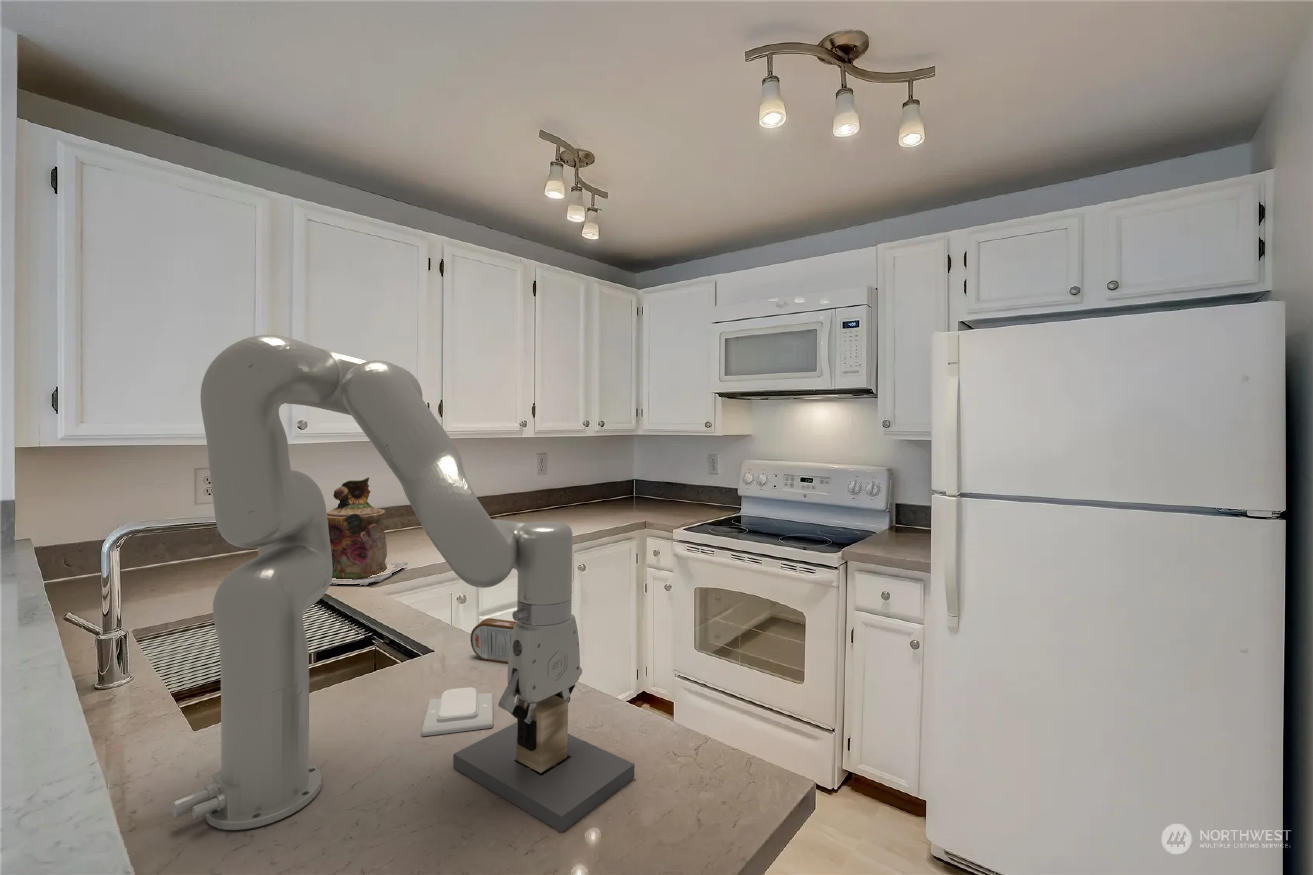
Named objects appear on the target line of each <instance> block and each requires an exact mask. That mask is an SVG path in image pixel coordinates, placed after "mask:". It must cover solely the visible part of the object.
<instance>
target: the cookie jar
mask: <svg viewBox="0 0 1313 875" xmlns="http://www.w3.org/2000/svg"><path fill="white" fill-rule="evenodd" d="M369 480H370V477H369V476H368V477H365V478H363V479H361V480H358V479H357V480H356V479H355V480H353V479H351V480H347V481H345V482H343V483H342V484H341V486H340V487H337V488H336V489H334V491H333V495H332V496H333V497H334V500H337V501H339V502H338V504H337V507H334V508H332V509H330V510H329V511H328V512H327V520H328V529H329V537H330V546H331V554H332V565H333V572H332V578H336V579H352V580H331V583H357V584H360V585H359V586H361V585H364V586H367V585H369V583H371V584H372V583H374V582H375V583H377V582H379V583H380V582H382V581H384V580H385V579H387V578H390V577H391V576H393V575H392V573H393V572H395V571H396V570H397V569H398V568H401V567H403V566H404V565H406V566H407V565H408V564H409V561H403V562H393V563H394V564H391V565H395V567H393V568H396V569H394V570H392V571H391V572H390V573H388V574H386V575H383V576H377V577H370V576H372V575H377V574H379V573H381V572H384V571H385V570H386V569H387V566H386V564H387V563H386V560H387V557H388V556H387V555H388V550H387V548H388V547H387V546H388V545H387V540H386V539H387V537H386V534H385V526H384V518H385V517H386V510H385V509H383V508H382V509H381V508H376V507H375V506H373V505H371V504H370V503H369V502H368V499H369V498H370V494H371V490H370V489H369V487H370V485H369ZM368 577H370V578H368Z"/></svg>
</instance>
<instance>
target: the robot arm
mask: <svg viewBox="0 0 1313 875" xmlns="http://www.w3.org/2000/svg"><path fill="white" fill-rule="evenodd" d="M199 398H200V408H201V409H200V410H201V415H202V421H203V426H204V433H205V439H206V446H207V454H208V455H207V457H208V468H209V476H210V477H209V478H210V486H211V492H212V493H211V494H212V501H213V509H214V518H215V523H216V527H217V530H218V533H219V534H220V535H221V537H222V538H223V539H224V540H225V541H226V542H227V543H228V544H230V545H232V546H235V547H238V548H243V549H257V552H258V556H256V557H255V558H252V559H250V560H247V561H246V562H244V563H241V565H239V566H237V567H235V568H234V569H233V570H232V571H230V573H228V574H227V575H226V577H225V578H224V579H223V580H222V581H221V583H220V584H218V585H219V586H218V587H217V590H216V591H215V594H214V596H213V597H214V598H213V601H212V618H213V623H214V628H215V632H216V637H217V642H218V647H219V662H220V663H219V664H220V695H221V696H220V702H221V703H220V771H218V772H215V773H213V774H212V783H209V784H207V785H204V786H203V790H200V791H196V792H195V793H190V794H187V795H185V796H183V797H179V798H177V799H174V800H172V801H171V812H172V816H173V818H174V819H177V818H180V817H182V816H184V815H186V814H189V813H191V816H192V819H193V820H195V819H198V818H200V817H203V816H205V819H206V822H207V823H208V824H209V825H210V826H211V827H213V828H217V829H219V830H226V831H238V830H239V831H240V830H249V829H253V828H259V827H264V826H266V825H270V824H272V823H275V822H278V821H279V820H280V821H281V820H282V819H284V818H286V817H289V816H291V815H293V814H294V813H296V812H298V811H300V810H301V809H302V808H304V807H305V806H307V805H308V804H309V803H310V802H311V801H312V800H313V799H315V798H316V796H317V795H319V792H320V791H321V788H322V785H323V774H322V772H321V770H320V769H319V768H318V767H316V766H315V765H313V764H309V763H310V655H309V653H310V652H309V643H308V638H307V634H306V631H305V629H306V628H305V624H304V613H305V612H306V611H307V610H308V609H309V608H311V607H312V606H313V605H315V604H316V603H317V602H318V601H320V599H322V598H323V596H324V595H325V594H326V593H327V591H328V589H329V587H330V586H331V584H330V583H331V580H332V572H333V565H332V554H331V546H330V537H329V529H328V520H327V513H328V512H327V506H326V500H325V497H324V495H323V493H322V490H321V488H320V486H319V485H318V483H316V481H315V480H314V479H313V478H312V477H311V476H309V475H307V474H306V473H304V472H301V471H298V470H294V469H292V468H291V461H290V456H289V454H290V453H289V443H288V438H287V437H288V436H287V433H286V430H285V427H284V425H283V422H282V421H281V420H282V419H281V417H280V412H279V411H280V408H281V406H282V405H284V404H287V405H295V406H297V405H298V406H299V405H300V406H307V407H312V408H316V409H322V410H326V411H331V412H335V413H340V414H343V415H349V416H352V418H353V419H354V421H355V422H356V423H357V425H358V427H359V428H360V429H361V431H362V432H363V433H364V434H365V436H366V437H367V438H368V440H369V441H370V442H371V444H372V445H373V447H374V449H376V451H377V452H378V454H379V455H380V457H381V458H382V459H383V461H384V462H385V463H386V465H387V466H388V467H389V469H390V470H391V472H392V473H393V474H394V475H395V477H396V478H397V480H398V482H399V483H400V484H401V487H402V488H403V492H404V494H405V496H406V499H407V501H408V503H409V504H410V506H411V508H412V510H413V511H414V514H415V516H416V517H417V520H418V521H419V523H420V525H421V527H422V528H423V530H424V532H425V533H426V535H427V537H428V539H430V542H432V544H433V545H434V546H433V547H435V549H436V550H437V551H438V552H439V554H440V555H441V556H442V558H443V559H444V561H445V562H446V563H447V565H448V566H449V567H450V569H451V570H452V571H453V572H454V573H455V575H457V577H459V579H461V581H463V582H464V583H466V584H467V585H470V586H472V587H475V588H480V589H486V588H491V587H494V586H497V585H499V584H501V583H502V582H503V581H505V580H506V578H508V577H509V575H511V572H512V570H513V569H515V570H516V571H517V600H516V601H517V602H516V606H517V607H516V610H514V611H513V612H512V619H513V621H516V622H517V623H516V624H514V628H513V633H512V638H511V644H510V651H509V661H508V663H507V686H506V687H505V690H504V692H503V693H502V695H501V697H500V699H499V701H498V707H499V708H500V709H503V710H504V711H506V712H508V713H510V714H511V715H512V716H513V717H514V719H516V720H517V719H518V728H517V743H518V745H520V746H522V747H524V748H526V749H527V750H529V751H534V750H535V749H536V721H534V720H533V718H534V713H535V708H536V704H537V703H538V702H540V701H543V700H545V699H547V698H549V697H551V696H553V695H555V696H557V697H560V698H562V699H565V700H567V701H568V705H569V704H570V702H571V694H572V692H573V691H574V689H575V686H576V684H577V682H579V680H580V678H581V676H582V673H583V669H582V667H581V654H580V652H581V650H580V649H581V648H580V638H579V637H580V636H579V630H578V629H579V628H578V625H577V619H576V617H575V615H574V614H572V598H573V597H572V594H573V592H572V589H573V585H572V583H573V545H574V544H573V542H574V541H573V540H574V538H573V537H574V536H573V530H572V528H571V527H570V525H568V524H567V523H564V522H561V521H553V520H551V521H550V520H548V521H547V520H544V521H543V520H541V521H533V522H522V521H515V520H514V521H512V520H507V519H506V520H504V519H495V518H491V517H490V515H489V513H488V512H487V511H486V509H484V506H483V505H482V503H481V502H480V501H479V499H478V498H477V496H476V494H475V492H474V491H473V488H472V487H471V485H470V483H469V481H468V479H467V476H466V473H465V470H464V465H463V460H462V456H461V454H460V452H459V449H458V447H457V446H456V444H455V443H454V441H453V439H451V436H450V435H449V434H448V433H447V432H446V430H445V429H444V427H443V426H442V425H441V424H440V422H439V421H438V419H437V418H436V416H435V415H434V413H433V412H432V411H431V409H430V408H429V407H428V405H427V403H426V402H425V401H424V399H423V389H422V387H421V384H420V383H419V381H418V379H417V378H416V377H415V376H414V374H412V373H411V371H409V370H407V369H406V368H404V367H401V366H399V365H397V364H394V363H392V362H389V361H385V360H365V359H362V358H358V357H353V356H350V355H346V354H343V353H338V352H335V351H331V350H327V349H324V348H320V347H317V346H314V345H311V344H309V343H308V344H307V343H305V342H303V341H300V340H298V339H294V338H291V337H288V336H283V335H277V334H260V335H254V336H248V337H246V338H243V339H241V340H237V341H236V342H234V343H233V344H231V345H229V346H228V347H226V348H225V349H224V350H222V351H221V352H220V353H219V354H218V355H217V356H216V357H214V359H213V360H212V361H211V363H210V364H209V365H208V368H207V369H206V371H205V373H204V376H203V378H202V383H201V388H200V397H199ZM525 701H526V702H528V704H527V708H526V710H525V709H524V704H525Z"/></svg>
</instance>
